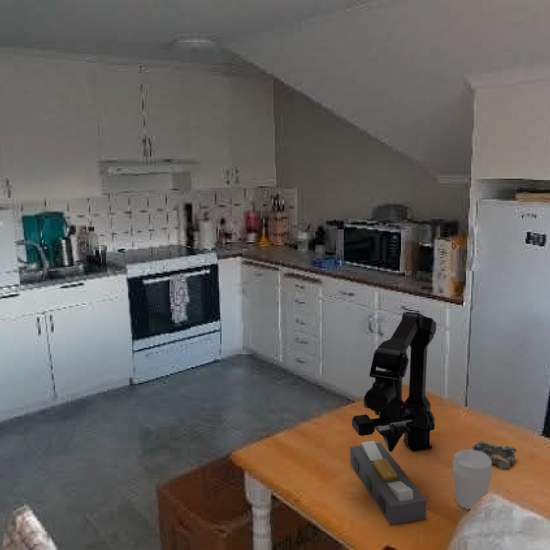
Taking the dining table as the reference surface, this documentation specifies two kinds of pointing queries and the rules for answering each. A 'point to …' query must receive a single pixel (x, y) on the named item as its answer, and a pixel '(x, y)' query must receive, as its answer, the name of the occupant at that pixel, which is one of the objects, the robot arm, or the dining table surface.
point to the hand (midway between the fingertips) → (390, 451)
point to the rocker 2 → (384, 469)
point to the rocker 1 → (371, 451)
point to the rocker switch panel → (381, 492)
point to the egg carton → (502, 451)
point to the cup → (471, 476)
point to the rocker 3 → (400, 491)
